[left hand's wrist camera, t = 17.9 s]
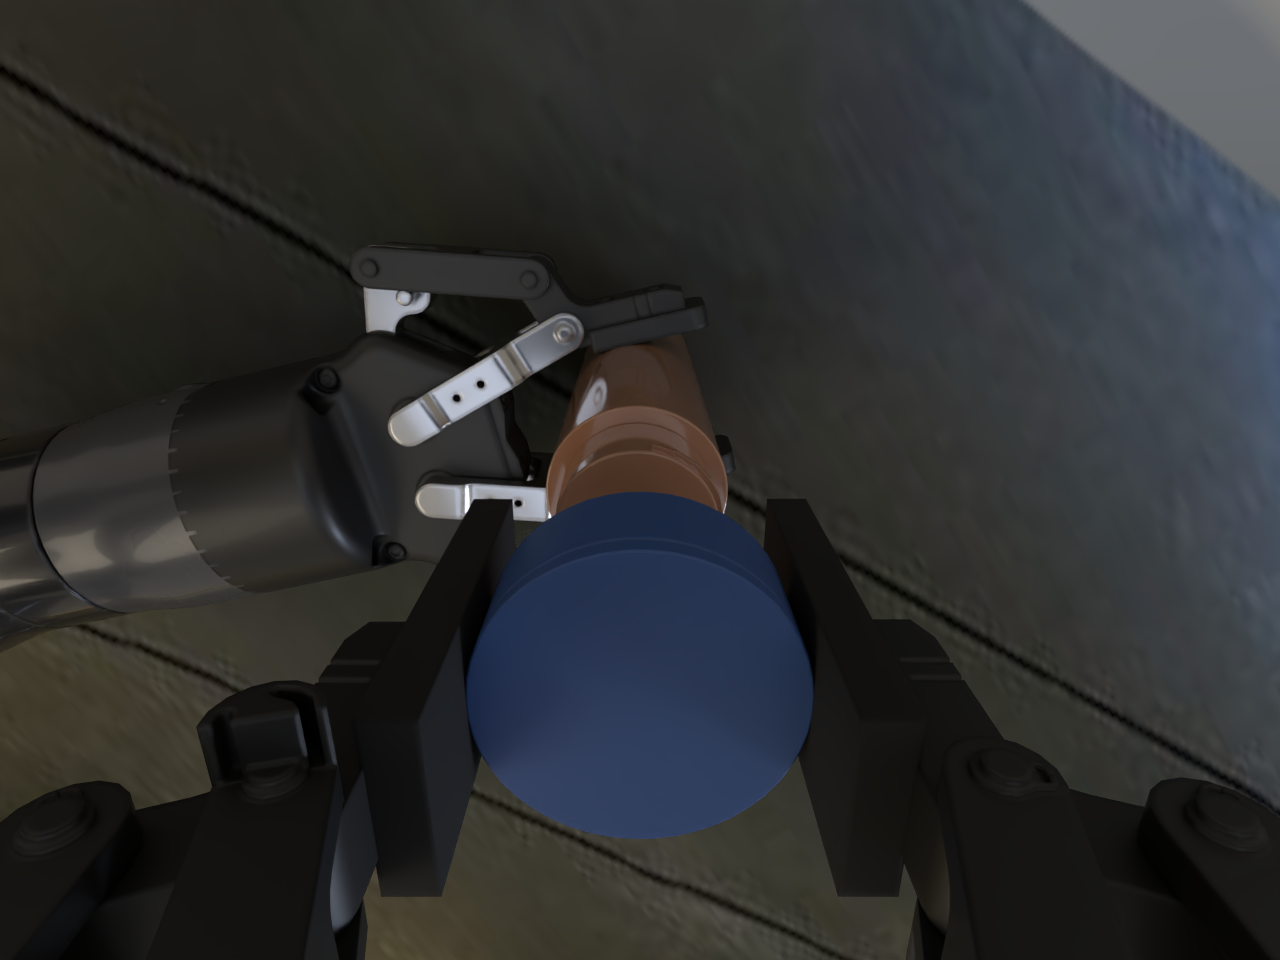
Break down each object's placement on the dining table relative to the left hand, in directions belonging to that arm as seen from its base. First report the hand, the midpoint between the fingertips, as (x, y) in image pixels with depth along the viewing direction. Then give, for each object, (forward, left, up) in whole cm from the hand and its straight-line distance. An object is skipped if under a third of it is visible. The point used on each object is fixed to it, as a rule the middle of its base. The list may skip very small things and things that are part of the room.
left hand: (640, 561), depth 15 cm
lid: (0, 0, +4) cm, 4 cm away
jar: (0, 0, -17) cm, 17 cm away
